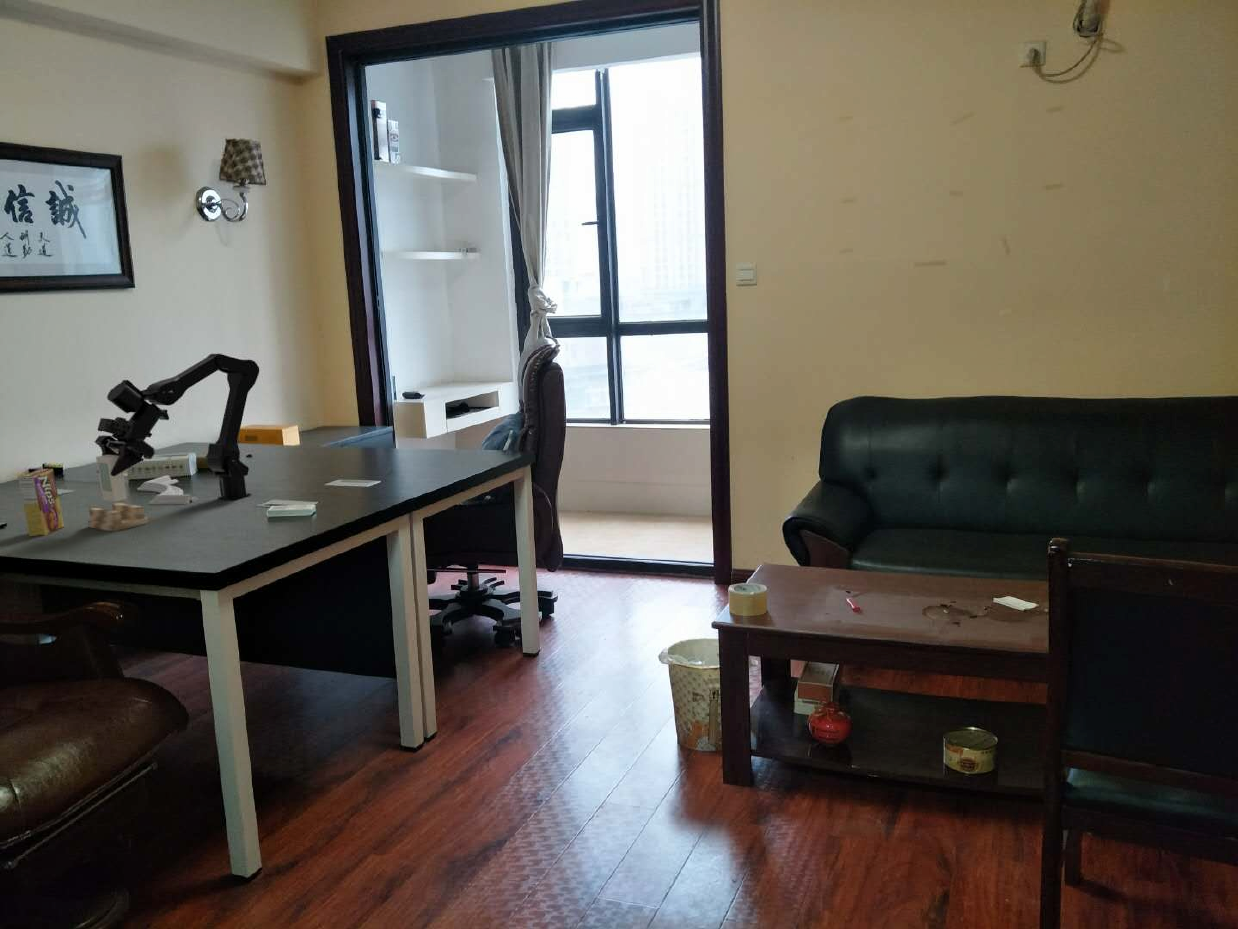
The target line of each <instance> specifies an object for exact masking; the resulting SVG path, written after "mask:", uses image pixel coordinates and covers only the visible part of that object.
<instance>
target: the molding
mask: <svg viewBox="0 0 1238 929" xmlns="http://www.w3.org/2000/svg"><path fill="white" fill-rule="evenodd" d="M177 483H179V480H178V479H176V478H175V479H172V478H171V476H170V475H168V474H167V475H164V476H160V477H157V478H154V479H151V480H148V481H144V482H143V483H142V484H141V485H140V487H137V488H136V489H137V491H142V492H143V491H145V492H147V491H148V492H154V493H159V494H157V495H156V496H154V498H153V499H152V500H150V501H149V505H188V504H190V502H191V503H192V502H196V501H199V497H198V496H193V495H192V494H184V490H183V489H182V488H180V487H177V486H174V485H175V484H177Z"/></svg>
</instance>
